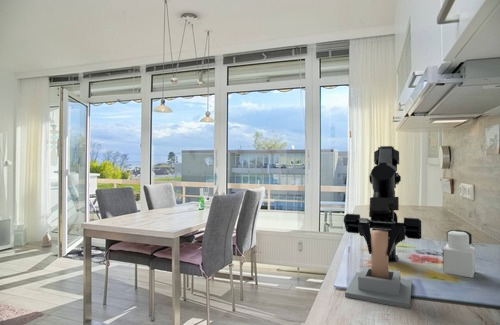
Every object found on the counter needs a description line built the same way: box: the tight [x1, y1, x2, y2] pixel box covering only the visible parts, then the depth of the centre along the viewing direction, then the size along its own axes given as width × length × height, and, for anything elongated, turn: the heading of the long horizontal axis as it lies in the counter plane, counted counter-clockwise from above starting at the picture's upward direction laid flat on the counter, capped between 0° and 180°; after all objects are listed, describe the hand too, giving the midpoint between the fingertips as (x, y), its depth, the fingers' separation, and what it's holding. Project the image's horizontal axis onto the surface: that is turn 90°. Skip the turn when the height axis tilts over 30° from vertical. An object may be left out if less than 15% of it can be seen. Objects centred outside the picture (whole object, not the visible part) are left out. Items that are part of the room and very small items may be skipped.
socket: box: [344, 265, 413, 309], centre depth 81 cm, size 16×14×4 cm
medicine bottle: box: [442, 229, 476, 279], centre depth 93 cm, size 7×7×12 cm
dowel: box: [370, 229, 389, 279], centre depth 81 cm, size 4×4×12 cm
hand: (379, 254), depth 80 cm, fingers closed on dowel, 4 cm apart
